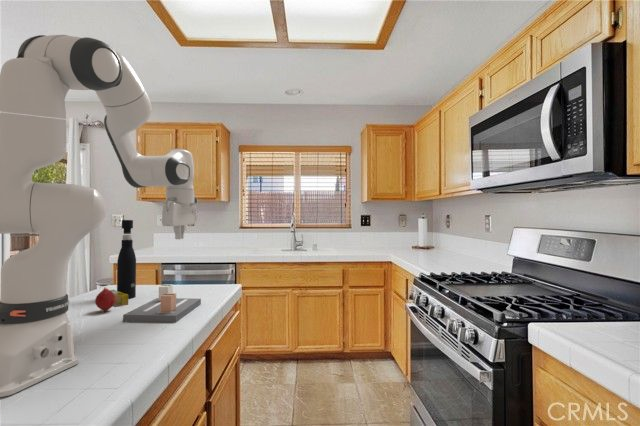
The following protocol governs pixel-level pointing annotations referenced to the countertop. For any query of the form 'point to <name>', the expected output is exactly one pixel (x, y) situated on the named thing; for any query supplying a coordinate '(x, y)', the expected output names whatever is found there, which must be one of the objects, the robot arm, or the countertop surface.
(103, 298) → the onion
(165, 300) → the fader
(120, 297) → the medication box
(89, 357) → the countertop surface
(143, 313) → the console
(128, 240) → the wine bottle
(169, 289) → the block
